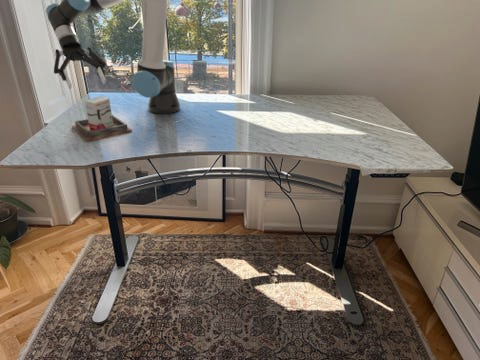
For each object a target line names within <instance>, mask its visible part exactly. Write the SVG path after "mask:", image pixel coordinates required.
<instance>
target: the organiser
mask: <svg viewBox="0 0 480 360" xmlns="http://www.w3.org/2000/svg"><path fill="white" fill-rule="evenodd" d="M112 119H113V126H111V127H108V128H105V129H100V130H91V129H90V127H89V122H88V118H86V119H82V120H75V121H74V124H73V125H71V128H72V129H73V130H74V131H75V132H76V133H77V134H79V136H81V138H83V140H85V141H86V142H93V141H97V140H100V139H106V138H110V137H114V136H119V135H123V134H127V133H129V134H130V133H131V132H132V133H133V130H132V128H130V127H128V124H127V123H125V122H124V121H122V119H120V118H118V117H117V116H116V115H114V114H112Z"/></svg>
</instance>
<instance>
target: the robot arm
mask: <svg viewBox="0 0 480 360" xmlns="http://www.w3.org/2000/svg"><path fill="white" fill-rule="evenodd" d="M126 1H127V0H62V1H61V2H60V3H57V2H55V3H52V4H48V6H47V7H46V9H45V14H46V17H47V21H48V22H49V23H50V25H51V27H52V30H53V32H54V34H55V37H56V38H57V41H58V43H59V45H60V48H61V50H59V49H57V48H56V49H55V50H54V51H55V52H54V53H55V54H54V55H55V60H54V65H53V66H54V67H53V74H55V75H56V74H59V76H60V77H61V80H62V81H63V82H65V83H66V84H67V87H68V89H69V90H71V89H72V86H73V85H72V82H71V80H70V77H69V76H68V73H67V71H66V68H67V67H68V65H69V63H70V62H77V61H78V62H79V61H82V62H86V63H87V64H89V65H90V66H92V67H94V68H95V69H97V74H98V75H99V78H100V80H101V83H102V85H106V82H107V79H106V77H105V75H106V72H105V70H104V69H106V65H107V64H106V62H105V61H103V59H101V58H100V57H99V56H98V55H97V54H96V53H95V52H94V51H93V50H92V48H91V47H90V46H88V47H87V48H83V47H82V45H81V43H80V40H79V38H78V35H77V33H76V32H75V31H76V30H75V29H74V26H73V25H72V24H73V23H74V22H75V21H77V19H78V18H79V17H80V16H83V15H92V14H95V15H96V14H100V13H102V12H103V11H104V10H106V9H109V8H111V7H113V6H115V5H118V4H121V3H123V2H126ZM168 3H169V0H144V12H143V13H144V14H143V27H142V28H143V29H142V44H141V45H142V48H141V49H142V50H141V58H140V59H139V60H138V61H137V67H136V69H137V70H136V72H135V74H134V75H133V77H132V85H133V88H134V90H135V91H136V92H137V93H138V95H140V96H142V97H144V98H149V100H148V110H149V112H150V113H154V114H159V115H160V114H162V115H166V114H173V113H176V111H177V112H178V110H179V109H180V110H181V104H180V100H179V99H178V96H177V93H176V79H175V78H176V77H175V66H174V65H175V64H174V62H173V61H171V60H165V59H164V49H165V39H166V37H165V36H166V27H167V18H168V17H167V16H168V15H167V14H168ZM62 56H64V57H65V59H64V60H63V62H62V64H61V66H60V68H59V64H60V58H61V57H62ZM180 110H179V111H180ZM172 112H173V113H172Z"/></svg>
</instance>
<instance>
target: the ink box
mask: <svg viewBox="0 0 480 360" xmlns="http://www.w3.org/2000/svg"><path fill="white" fill-rule="evenodd" d="M84 103H85V109H86V114H87V119H88V122H89V127H90V129H91V130H100V129H105V128H108V127H111V126H113V119H112V115H113V114H112V109H111V101H110V98H109V97H105V96H101V95H100V96H97V97H93V98H90V99H87V100H85V101H84Z"/></svg>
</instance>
